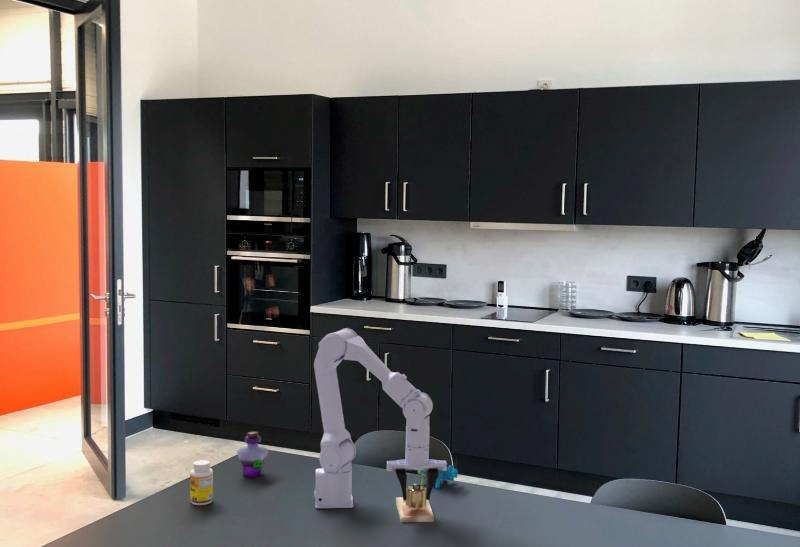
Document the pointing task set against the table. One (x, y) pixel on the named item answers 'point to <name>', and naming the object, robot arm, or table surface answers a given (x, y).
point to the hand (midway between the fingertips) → (415, 498)
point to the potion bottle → (252, 456)
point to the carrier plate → (414, 512)
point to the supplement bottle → (201, 483)
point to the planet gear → (416, 496)
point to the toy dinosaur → (441, 475)
